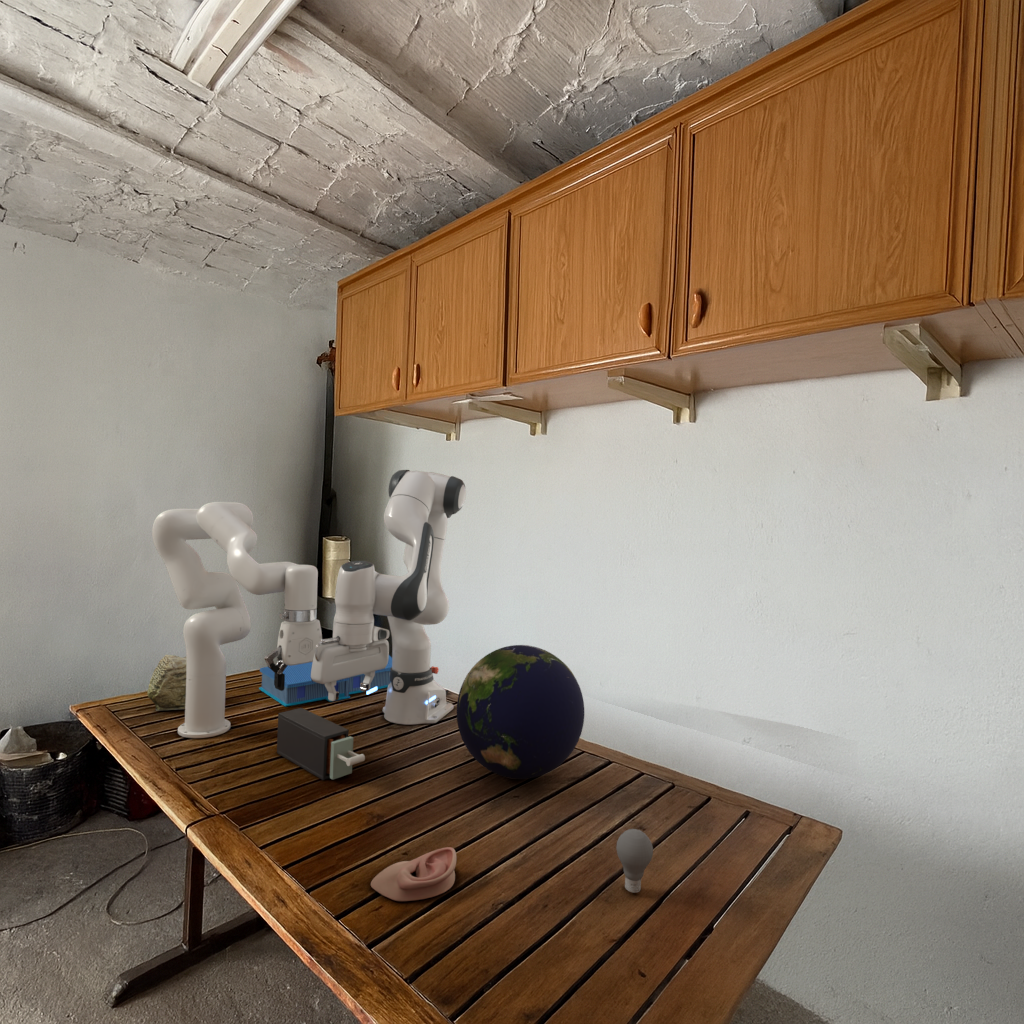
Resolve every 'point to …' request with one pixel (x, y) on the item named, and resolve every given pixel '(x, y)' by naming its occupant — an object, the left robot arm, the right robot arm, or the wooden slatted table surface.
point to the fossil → (169, 683)
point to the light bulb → (634, 857)
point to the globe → (520, 712)
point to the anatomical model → (418, 876)
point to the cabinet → (306, 739)
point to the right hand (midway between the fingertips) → (349, 695)
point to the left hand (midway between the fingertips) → (298, 685)
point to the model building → (316, 684)
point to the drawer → (341, 756)
